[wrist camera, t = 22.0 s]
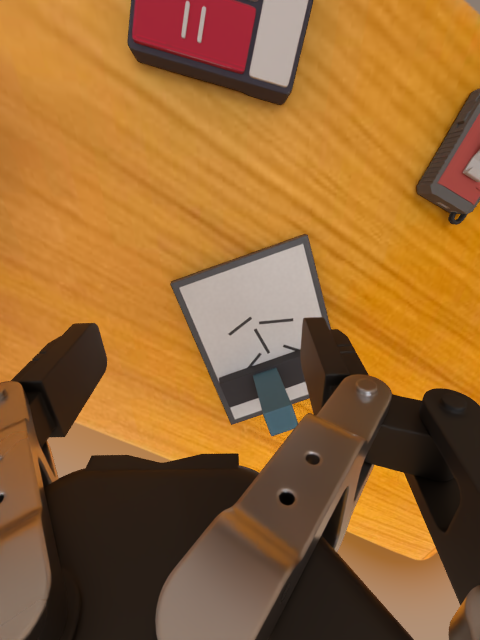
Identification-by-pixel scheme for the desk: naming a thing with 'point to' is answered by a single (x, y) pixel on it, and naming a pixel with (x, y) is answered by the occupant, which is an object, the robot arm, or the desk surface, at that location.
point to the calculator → (223, 41)
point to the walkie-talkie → (456, 165)
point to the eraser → (267, 389)
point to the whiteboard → (252, 312)
